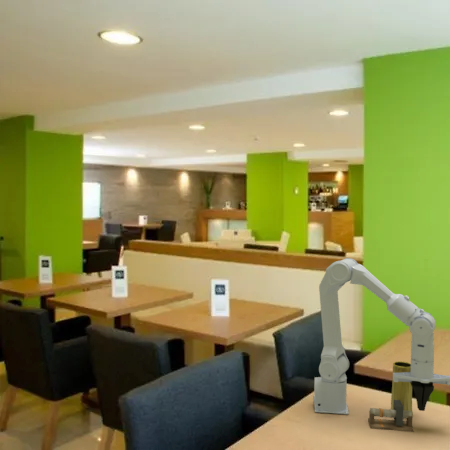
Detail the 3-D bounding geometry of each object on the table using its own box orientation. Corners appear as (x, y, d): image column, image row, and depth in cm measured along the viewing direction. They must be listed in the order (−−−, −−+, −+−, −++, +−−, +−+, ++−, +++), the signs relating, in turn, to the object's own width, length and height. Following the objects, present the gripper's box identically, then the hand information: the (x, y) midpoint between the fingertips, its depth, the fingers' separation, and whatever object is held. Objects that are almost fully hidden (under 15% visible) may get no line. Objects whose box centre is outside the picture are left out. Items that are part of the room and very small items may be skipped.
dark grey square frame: (396, 425, 132) (397, 406, 132) (393, 418, 136) (393, 399, 136) (402, 425, 131) (403, 406, 131) (399, 418, 136) (400, 400, 136)
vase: (409, 409, 145) (410, 361, 144) (415, 418, 139) (416, 368, 138) (388, 408, 146) (389, 360, 145) (393, 417, 140) (394, 367, 139)
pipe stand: (370, 428, 132) (370, 411, 132) (368, 420, 137) (368, 404, 137) (413, 431, 131) (414, 414, 131) (409, 423, 136) (409, 407, 136)
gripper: (396, 362, 129) (395, 413, 130) (455, 365, 127) (454, 417, 128) (391, 354, 136) (390, 402, 137) (447, 357, 134) (446, 406, 135)
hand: (421, 409), depth 133 cm, fingers closed
